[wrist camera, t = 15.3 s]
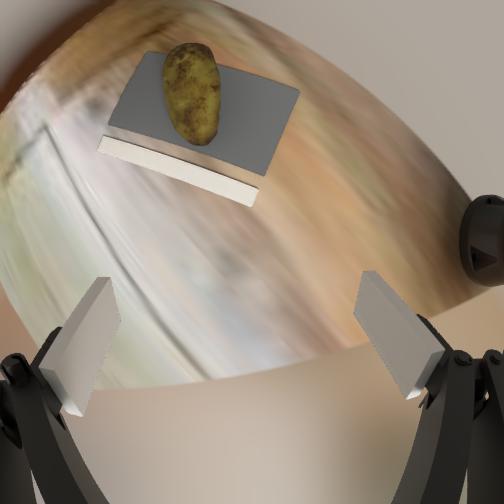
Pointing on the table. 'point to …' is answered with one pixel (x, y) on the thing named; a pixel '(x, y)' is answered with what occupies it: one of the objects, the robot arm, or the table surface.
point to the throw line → (179, 170)
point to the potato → (192, 92)
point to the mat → (231, 114)
